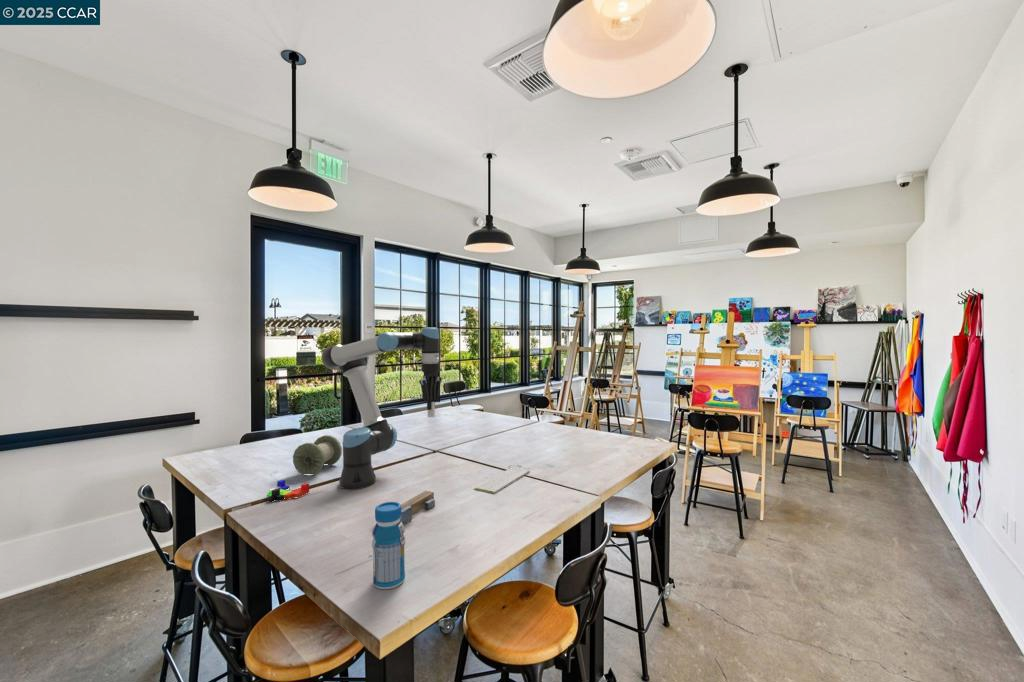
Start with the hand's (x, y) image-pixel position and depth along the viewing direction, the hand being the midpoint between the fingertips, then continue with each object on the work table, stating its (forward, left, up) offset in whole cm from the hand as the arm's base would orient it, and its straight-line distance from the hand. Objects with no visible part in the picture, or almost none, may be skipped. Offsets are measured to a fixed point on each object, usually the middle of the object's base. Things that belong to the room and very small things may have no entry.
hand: (431, 416), depth 185 cm
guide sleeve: (+12, -21, -29) cm, 38 cm away
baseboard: (+25, +18, -30) cm, 43 cm away
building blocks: (-46, -39, -30) cm, 67 cm away
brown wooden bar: (+12, -25, -30) cm, 40 cm away
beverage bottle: (+36, -64, -30) cm, 79 cm away
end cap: (+12, -36, -29) cm, 48 cm away
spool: (-62, -9, -30) cm, 69 cm away
